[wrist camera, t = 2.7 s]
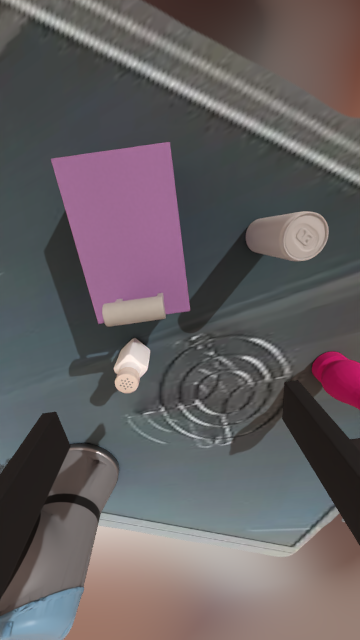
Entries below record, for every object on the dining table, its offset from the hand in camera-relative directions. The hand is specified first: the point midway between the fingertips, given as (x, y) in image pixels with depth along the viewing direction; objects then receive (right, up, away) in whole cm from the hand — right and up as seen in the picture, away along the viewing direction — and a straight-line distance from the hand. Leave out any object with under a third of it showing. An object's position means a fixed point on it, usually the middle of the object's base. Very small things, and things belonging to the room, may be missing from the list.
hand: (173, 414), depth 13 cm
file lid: (-5, +14, +13) cm, 20 cm away
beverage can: (+12, +18, +21) cm, 30 cm away
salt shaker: (-7, 0, +26) cm, 27 cm away
